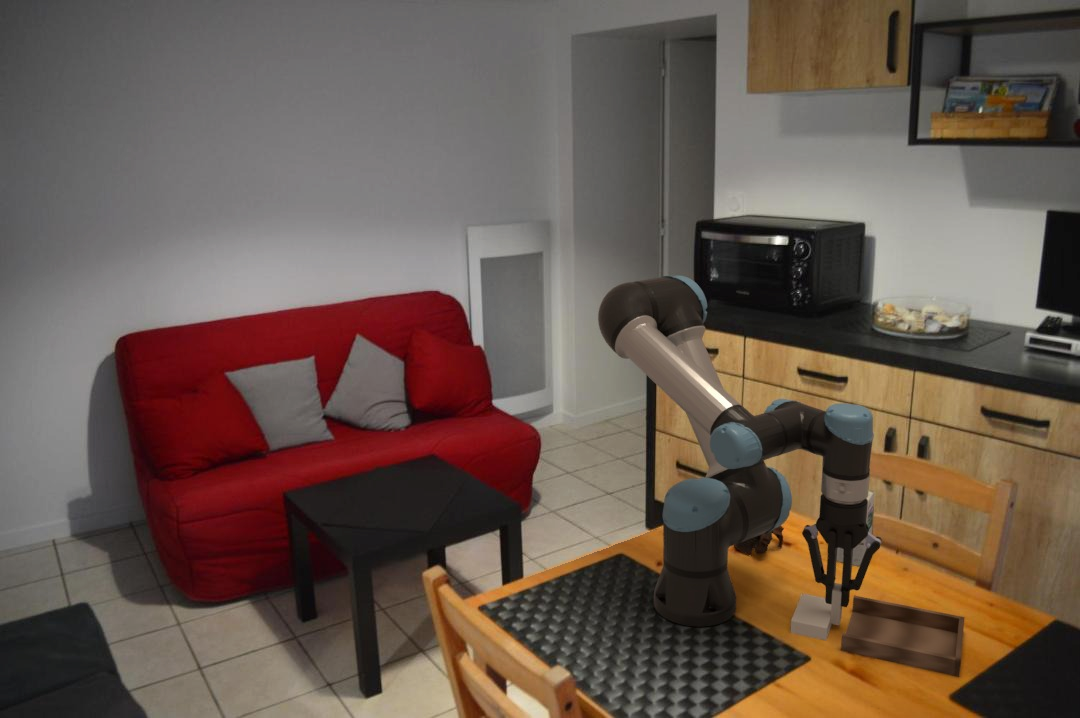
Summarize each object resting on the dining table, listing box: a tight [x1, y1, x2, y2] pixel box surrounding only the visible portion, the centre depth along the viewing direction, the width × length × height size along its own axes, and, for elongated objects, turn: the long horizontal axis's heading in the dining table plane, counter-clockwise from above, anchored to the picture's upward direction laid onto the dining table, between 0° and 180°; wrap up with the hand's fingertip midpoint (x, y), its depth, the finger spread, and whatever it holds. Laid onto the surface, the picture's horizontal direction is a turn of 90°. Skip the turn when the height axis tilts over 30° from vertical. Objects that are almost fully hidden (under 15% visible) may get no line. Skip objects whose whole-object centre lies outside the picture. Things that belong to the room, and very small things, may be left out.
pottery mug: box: [734, 525, 785, 556], centre depth 186 cm, size 12×10×8 cm
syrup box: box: [836, 489, 875, 567], centre depth 180 cm, size 6×6×14 cm
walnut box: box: [840, 595, 965, 678], centre depth 151 cm, size 18×14×4 cm
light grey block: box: [790, 593, 833, 641], centre depth 158 cm, size 6×10×3 cm, turn 154°
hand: (835, 620), depth 156 cm, fingers closed
